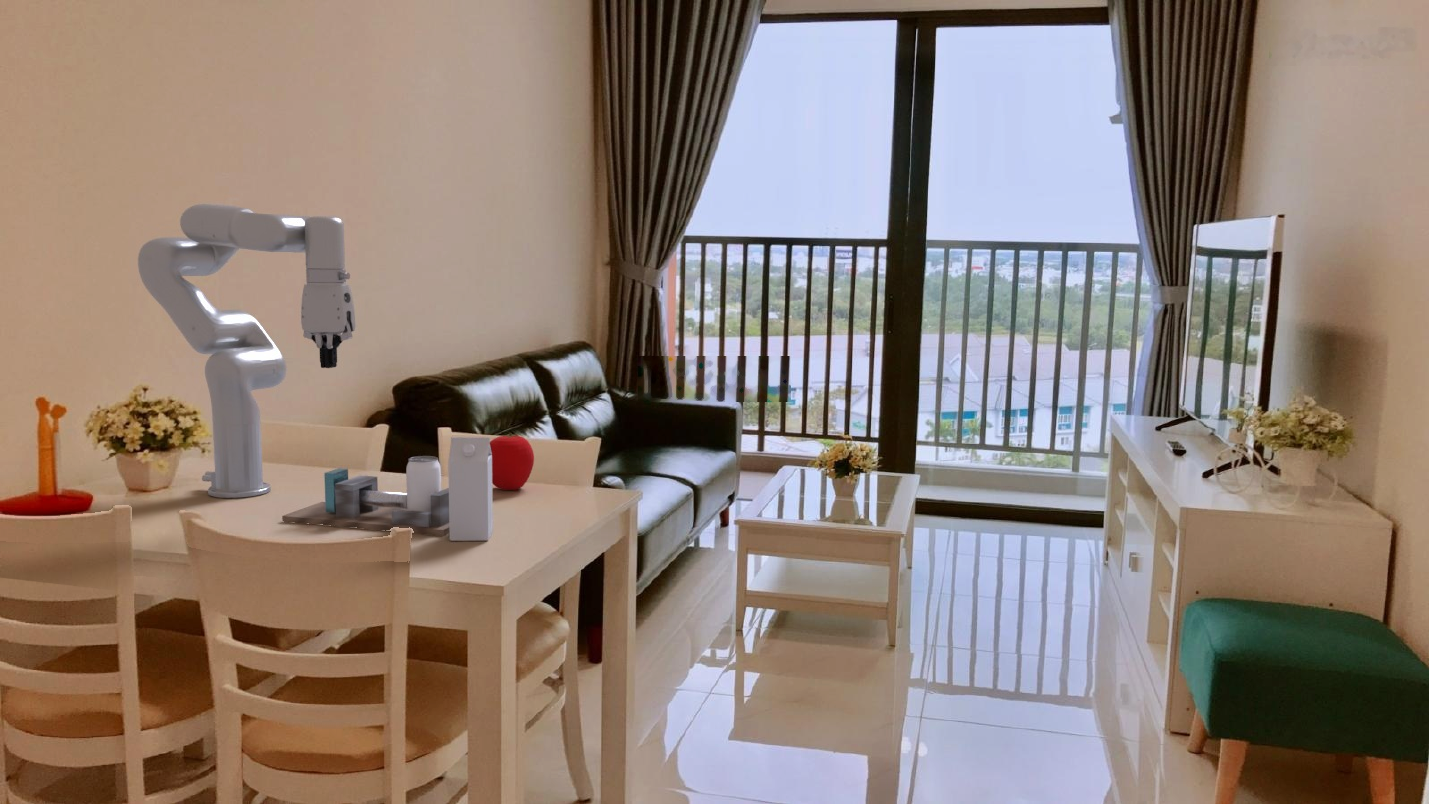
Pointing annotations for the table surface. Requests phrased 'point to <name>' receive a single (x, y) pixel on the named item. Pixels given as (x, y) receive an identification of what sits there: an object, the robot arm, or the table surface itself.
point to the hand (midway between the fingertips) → (328, 367)
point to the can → (422, 482)
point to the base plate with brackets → (375, 511)
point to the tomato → (511, 461)
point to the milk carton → (470, 489)
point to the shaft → (361, 493)
